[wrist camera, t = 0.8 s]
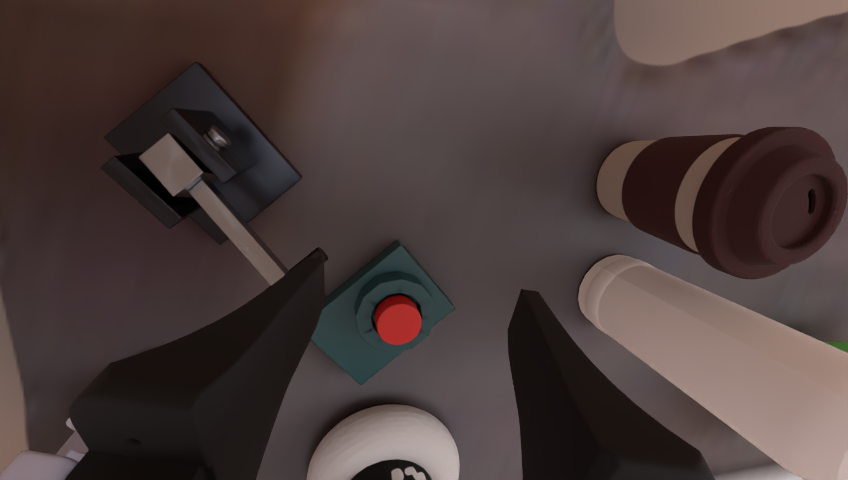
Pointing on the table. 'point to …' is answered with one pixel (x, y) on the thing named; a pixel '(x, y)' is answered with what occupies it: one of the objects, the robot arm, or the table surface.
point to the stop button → (397, 320)
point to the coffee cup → (730, 195)
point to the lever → (212, 202)
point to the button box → (355, 312)
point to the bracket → (200, 151)
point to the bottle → (730, 362)
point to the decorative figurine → (386, 447)
